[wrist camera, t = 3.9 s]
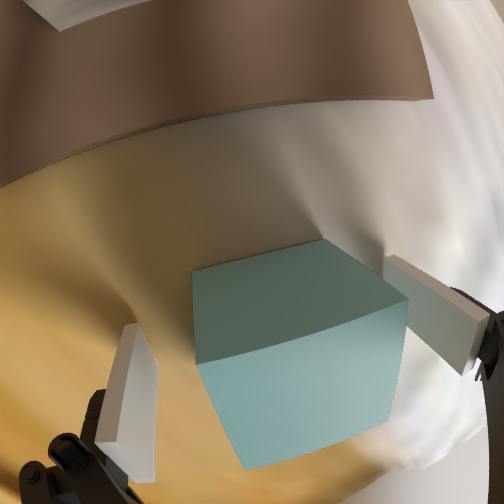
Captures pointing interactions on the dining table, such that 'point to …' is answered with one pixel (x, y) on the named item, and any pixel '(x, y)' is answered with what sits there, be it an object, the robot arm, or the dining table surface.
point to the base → (187, 65)
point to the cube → (297, 349)
